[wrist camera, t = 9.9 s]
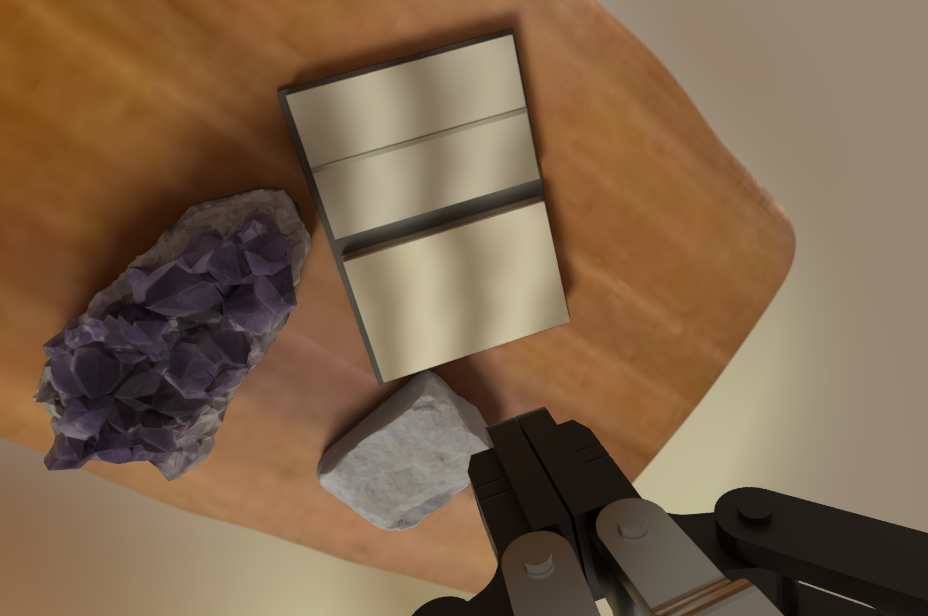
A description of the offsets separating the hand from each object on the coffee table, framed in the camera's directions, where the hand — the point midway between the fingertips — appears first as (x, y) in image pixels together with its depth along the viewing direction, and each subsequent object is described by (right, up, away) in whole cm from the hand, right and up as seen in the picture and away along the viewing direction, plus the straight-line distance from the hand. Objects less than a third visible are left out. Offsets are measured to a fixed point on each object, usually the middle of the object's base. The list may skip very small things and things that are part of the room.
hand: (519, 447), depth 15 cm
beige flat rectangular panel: (-2, +5, +29) cm, 29 cm away
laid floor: (-3, +9, +28) cm, 29 cm away
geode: (-19, +3, +26) cm, 33 cm away
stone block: (-6, -7, +34) cm, 36 cm away
